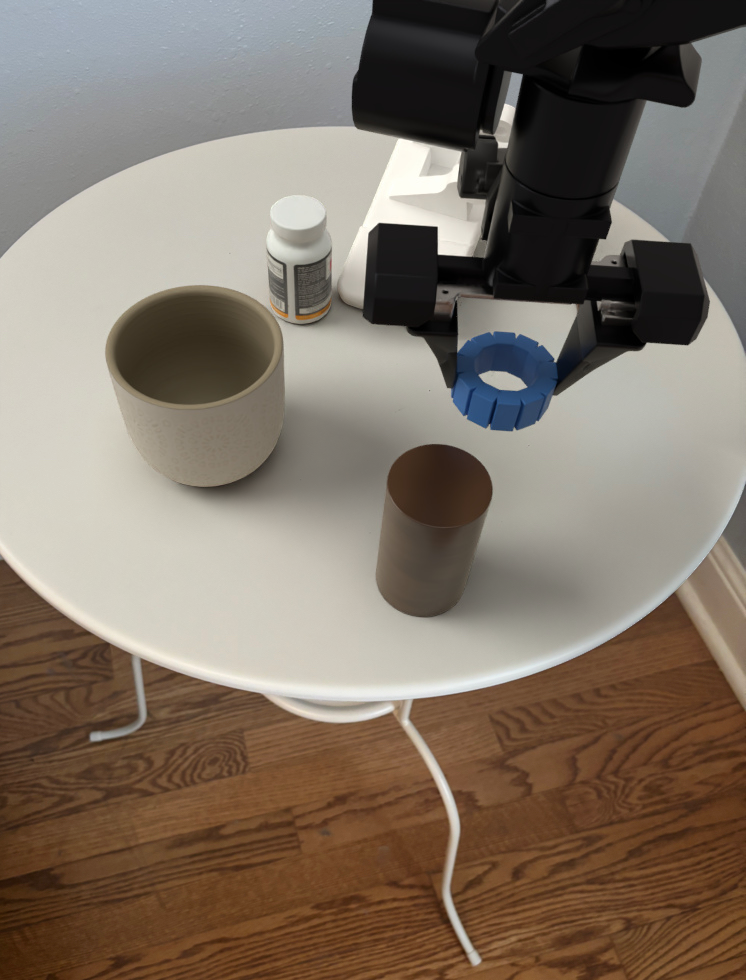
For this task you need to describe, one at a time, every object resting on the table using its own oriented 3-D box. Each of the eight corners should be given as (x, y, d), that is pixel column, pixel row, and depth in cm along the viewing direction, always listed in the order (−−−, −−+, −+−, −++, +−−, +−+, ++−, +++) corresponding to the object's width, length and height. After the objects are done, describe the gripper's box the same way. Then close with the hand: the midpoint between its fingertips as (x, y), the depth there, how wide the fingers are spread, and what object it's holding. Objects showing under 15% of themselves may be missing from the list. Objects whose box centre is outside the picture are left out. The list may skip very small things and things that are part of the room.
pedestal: (463, 542, 63) (490, 446, 54) (466, 619, 60) (495, 531, 50) (376, 537, 63) (387, 440, 54) (374, 614, 60) (385, 525, 50)
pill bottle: (334, 287, 79) (336, 193, 70) (327, 329, 75) (329, 235, 67) (274, 282, 79) (269, 187, 70) (265, 324, 76) (259, 229, 67)
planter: (311, 413, 70) (311, 312, 61) (246, 526, 63) (235, 432, 54) (178, 370, 72) (159, 266, 63) (103, 475, 66) (69, 376, 57)
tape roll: (544, 362, 57) (553, 334, 54) (551, 434, 53) (561, 407, 51) (450, 355, 57) (455, 327, 55) (451, 427, 53) (457, 400, 51)
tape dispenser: (450, 358, 81) (445, 301, 68) (342, 323, 83) (318, 261, 70) (524, 173, 82) (532, 84, 69) (416, 144, 84) (405, 51, 72)
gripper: (721, 89, 45) (629, 311, 59) (379, 67, 46) (364, 294, 59) (766, 216, 39) (652, 433, 52) (371, 190, 40) (355, 413, 53)
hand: (501, 387), depth 54 cm, fingers closed on tape roll, 6 cm apart
